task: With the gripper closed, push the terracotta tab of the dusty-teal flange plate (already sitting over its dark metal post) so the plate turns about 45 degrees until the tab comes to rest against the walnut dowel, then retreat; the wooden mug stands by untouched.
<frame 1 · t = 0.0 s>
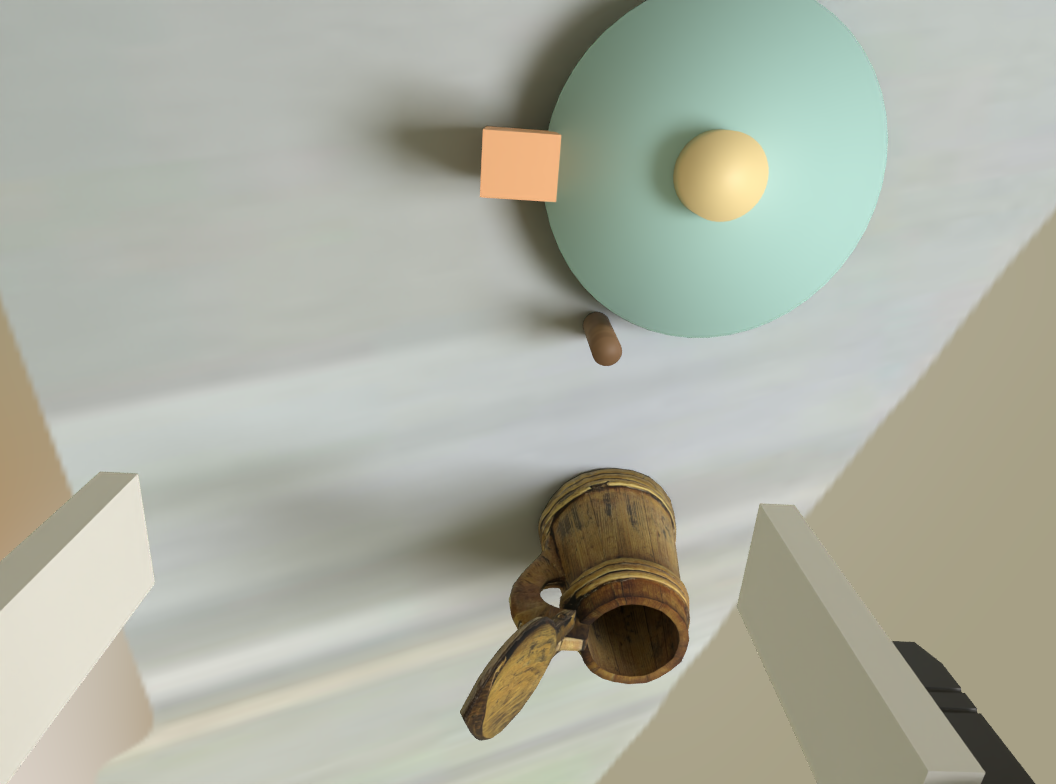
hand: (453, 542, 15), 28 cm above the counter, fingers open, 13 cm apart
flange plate: (692, 174, 36), point 4 cm above the counter, hinge at 0.0°
wooden mug: (574, 518, 48), on the counter
dowel: (596, 325, 43), on the counter
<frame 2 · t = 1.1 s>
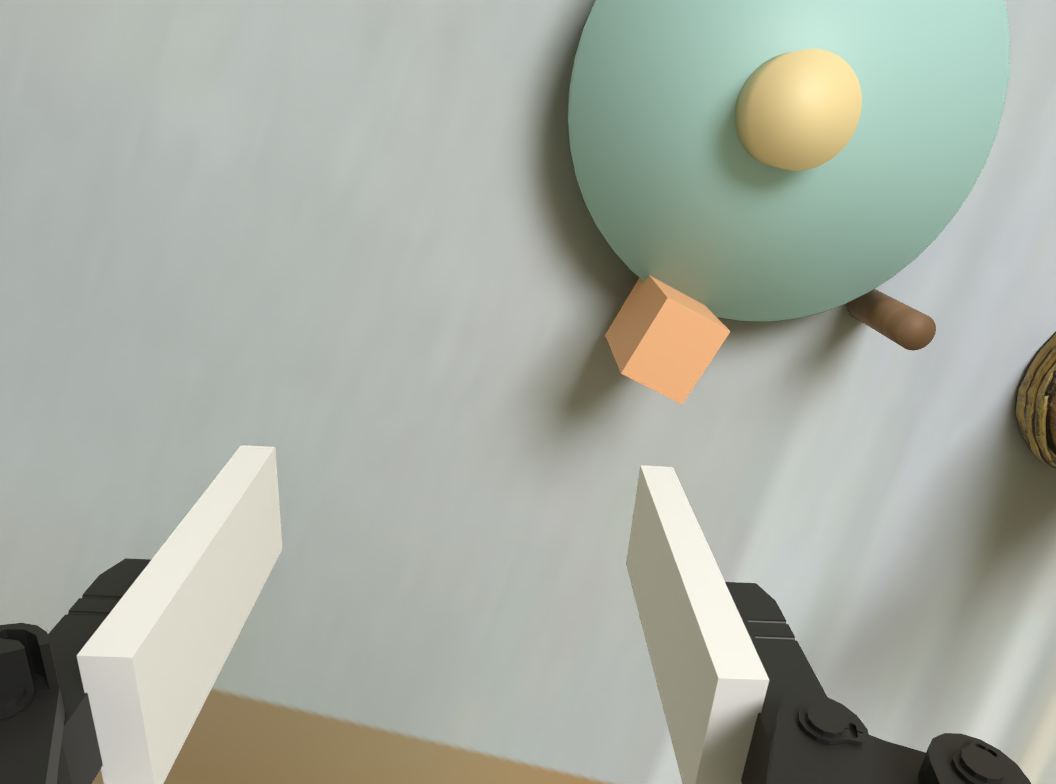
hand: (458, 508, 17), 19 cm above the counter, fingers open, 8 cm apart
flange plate: (778, 148, 28), point 4 cm above the counter, hinge at 0.0°
dowel: (862, 302, 35), on the counter
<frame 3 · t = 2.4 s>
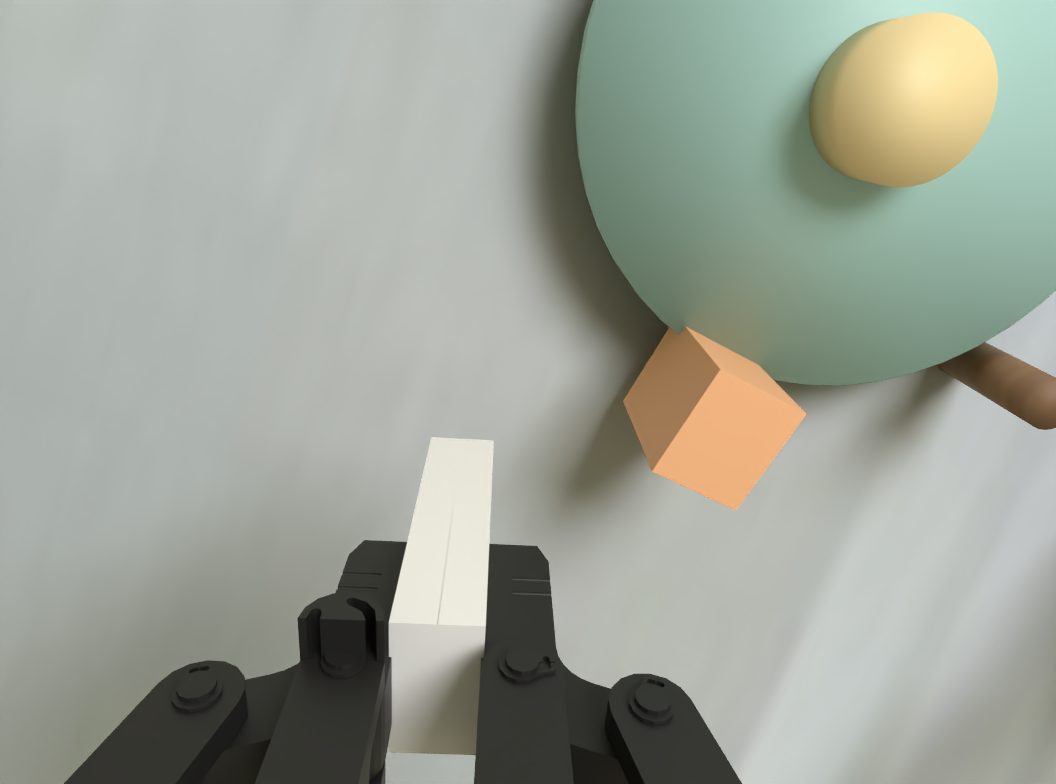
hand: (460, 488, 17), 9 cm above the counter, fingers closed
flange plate: (873, 155, 20), point 4 cm above the counter, hinge at 0.0°
dowel: (956, 353, 27), on the counter
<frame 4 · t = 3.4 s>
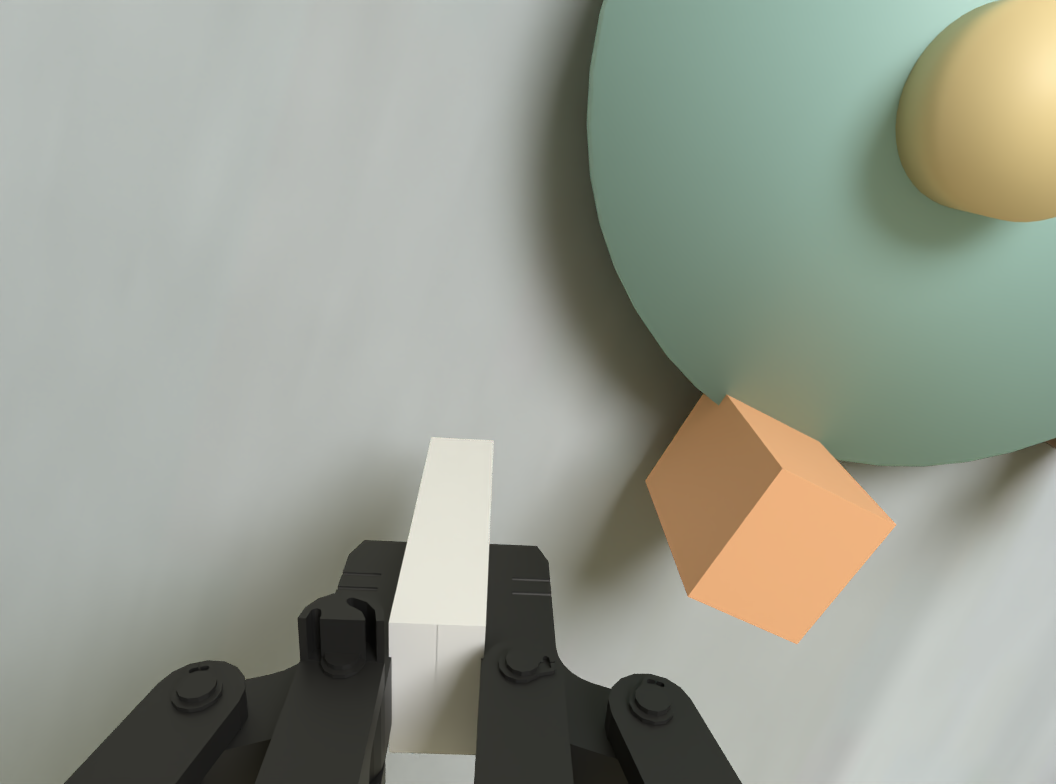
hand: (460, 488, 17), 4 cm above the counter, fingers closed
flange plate: (986, 179, 15), point 4 cm above the counter, hinge at 0.0°
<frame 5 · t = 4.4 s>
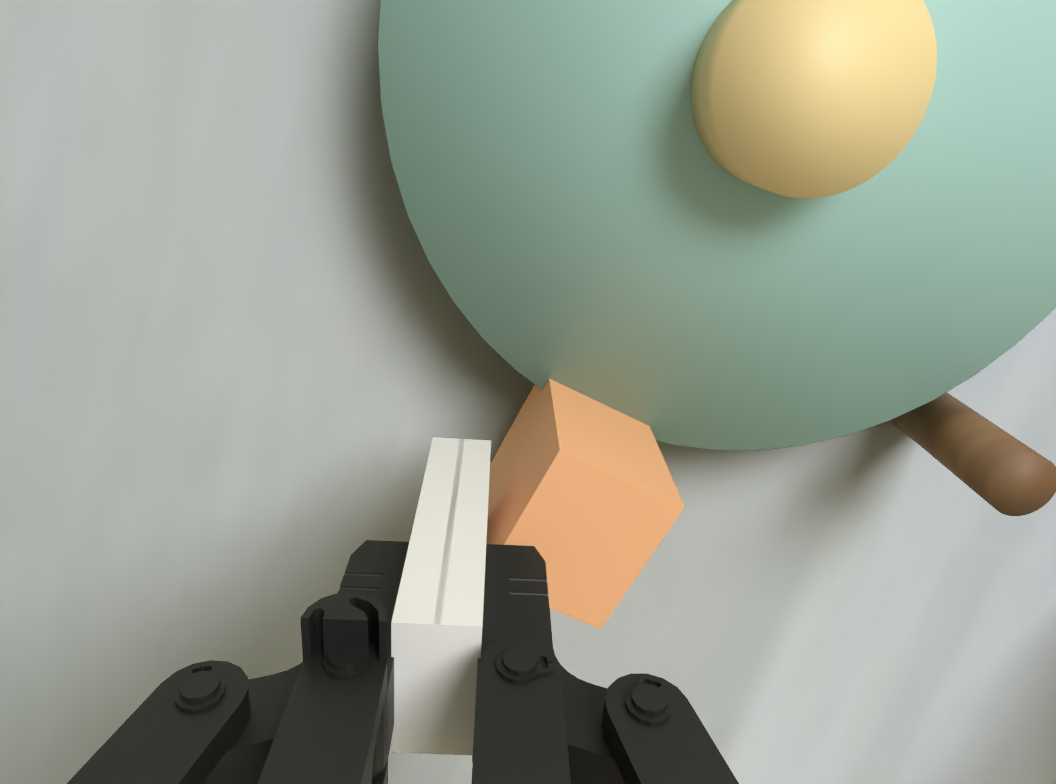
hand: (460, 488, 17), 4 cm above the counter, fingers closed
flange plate: (772, 155, 15), point 4 cm above the counter, hinge at 0.5°, touching gripper
dowel: (912, 403, 21), on the counter
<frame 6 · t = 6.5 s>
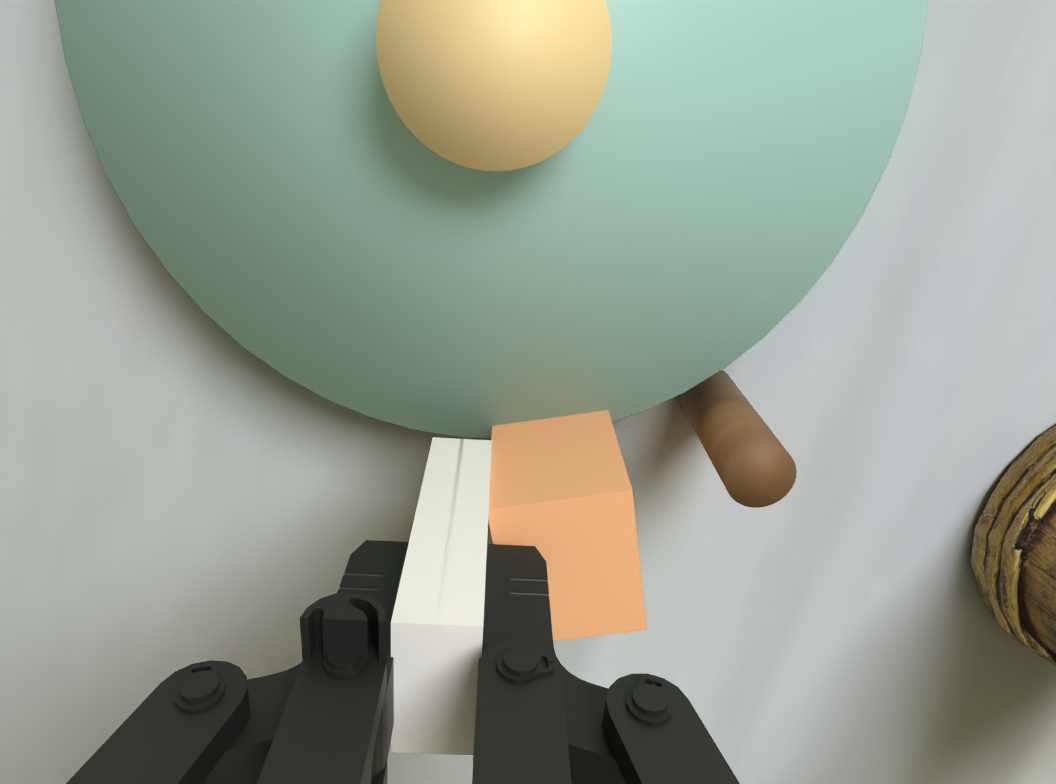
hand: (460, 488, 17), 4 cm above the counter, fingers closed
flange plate: (507, 134, 14), point 4 cm above the counter, hinge at 36.2°, touching gripper
wooden mug: (1048, 565, 23), on the counter
dowel: (705, 392, 21), on the counter
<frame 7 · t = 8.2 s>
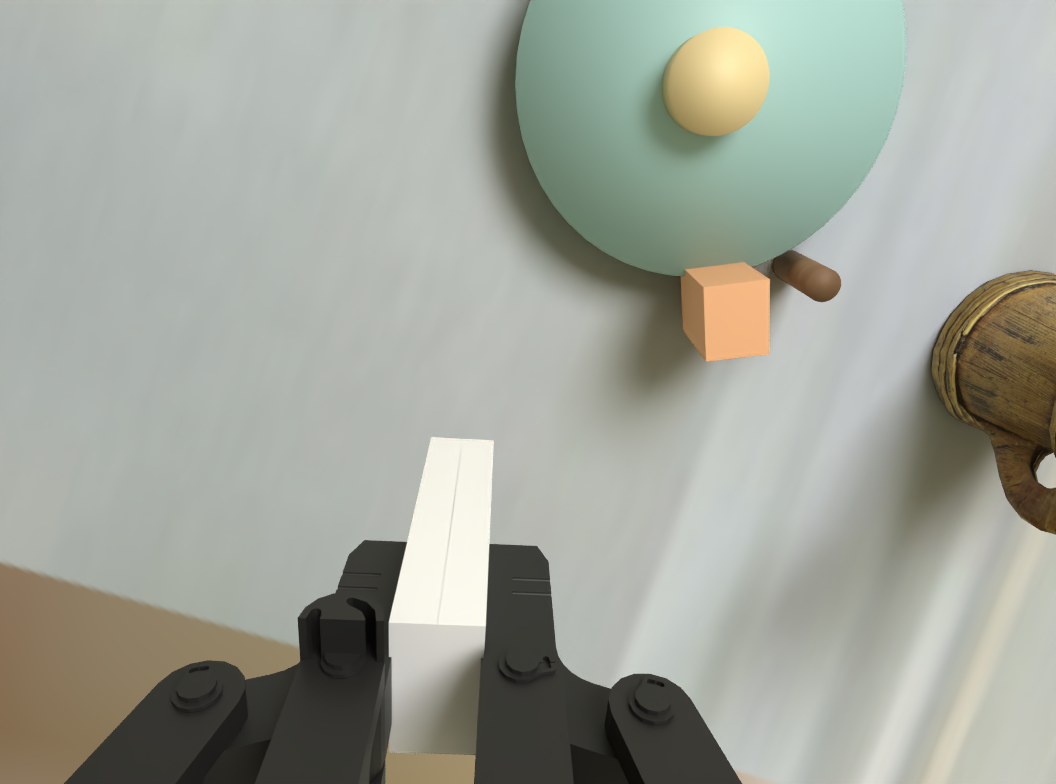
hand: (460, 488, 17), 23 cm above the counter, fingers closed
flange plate: (717, 120, 32), point 4 cm above the counter, hinge at 36.2°
wooden mug: (976, 378, 41), on the counter
dowel: (787, 264, 38), on the counter
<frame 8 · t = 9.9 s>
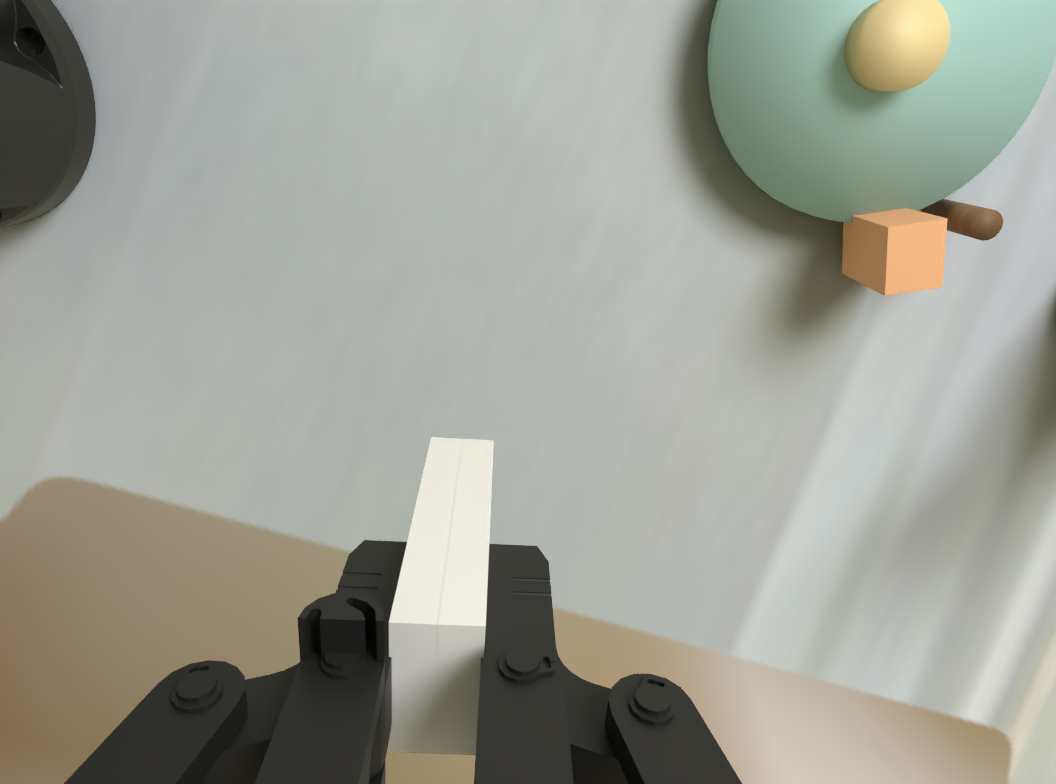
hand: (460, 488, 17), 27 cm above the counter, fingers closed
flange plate: (899, 77, 36), point 4 cm above the counter, hinge at 36.2°
dowel: (935, 211, 42), on the counter
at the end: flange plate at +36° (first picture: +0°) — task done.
